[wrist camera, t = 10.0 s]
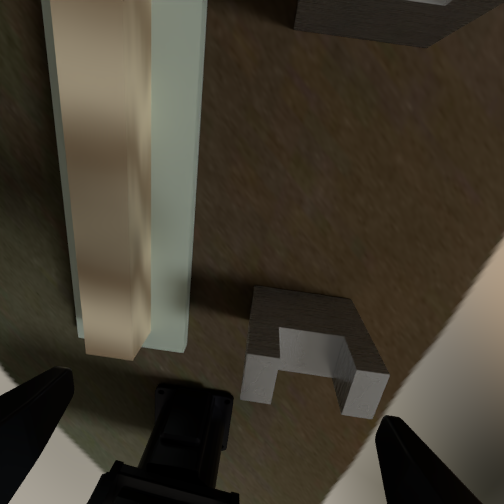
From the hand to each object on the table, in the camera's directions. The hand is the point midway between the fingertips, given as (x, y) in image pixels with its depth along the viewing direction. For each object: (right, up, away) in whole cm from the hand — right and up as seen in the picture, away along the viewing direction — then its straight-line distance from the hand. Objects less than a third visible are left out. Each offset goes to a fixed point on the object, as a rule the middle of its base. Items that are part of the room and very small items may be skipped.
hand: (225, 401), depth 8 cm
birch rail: (-7, +10, +8) cm, 14 cm away
